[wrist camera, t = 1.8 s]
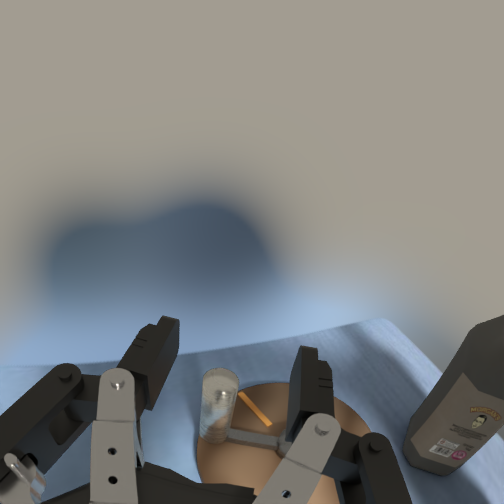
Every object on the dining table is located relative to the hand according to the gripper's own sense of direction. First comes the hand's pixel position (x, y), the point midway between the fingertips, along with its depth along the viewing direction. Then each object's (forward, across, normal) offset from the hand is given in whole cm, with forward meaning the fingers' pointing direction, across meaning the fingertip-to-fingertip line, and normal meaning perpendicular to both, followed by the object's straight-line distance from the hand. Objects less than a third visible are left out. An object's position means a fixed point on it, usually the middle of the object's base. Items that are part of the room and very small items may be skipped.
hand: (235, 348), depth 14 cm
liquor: (+9, -26, +22) cm, 36 cm away
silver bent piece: (+7, -3, +20) cm, 22 cm away
